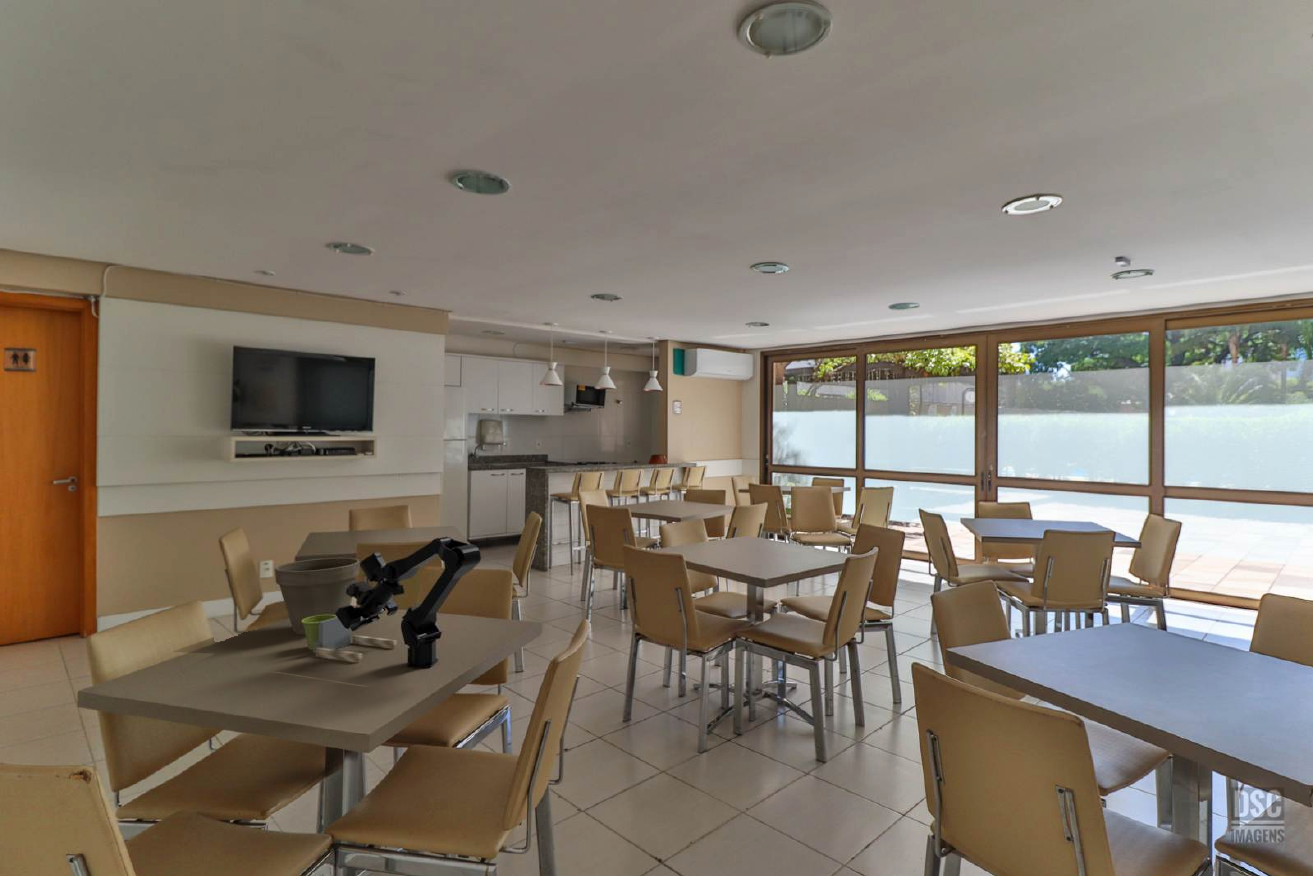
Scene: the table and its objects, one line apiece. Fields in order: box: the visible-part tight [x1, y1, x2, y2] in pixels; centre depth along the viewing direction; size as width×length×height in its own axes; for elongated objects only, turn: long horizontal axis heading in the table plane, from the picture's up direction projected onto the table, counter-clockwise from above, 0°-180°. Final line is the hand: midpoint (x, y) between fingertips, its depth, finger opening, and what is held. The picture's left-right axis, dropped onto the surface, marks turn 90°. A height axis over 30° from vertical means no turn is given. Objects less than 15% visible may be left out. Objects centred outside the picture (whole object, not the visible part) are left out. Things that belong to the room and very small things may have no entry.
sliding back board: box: [312, 617, 351, 654], centre depth 194 cm, size 4×10×9 cm, turn 159°
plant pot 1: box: [274, 557, 361, 636], centre depth 216 cm, size 25×25×22 cm
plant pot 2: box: [302, 615, 337, 651], centre depth 196 cm, size 9×9×9 cm
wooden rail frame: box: [315, 634, 398, 663], centre depth 190 cm, size 16×14×2 cm
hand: (352, 630), depth 191 cm, fingers closed
